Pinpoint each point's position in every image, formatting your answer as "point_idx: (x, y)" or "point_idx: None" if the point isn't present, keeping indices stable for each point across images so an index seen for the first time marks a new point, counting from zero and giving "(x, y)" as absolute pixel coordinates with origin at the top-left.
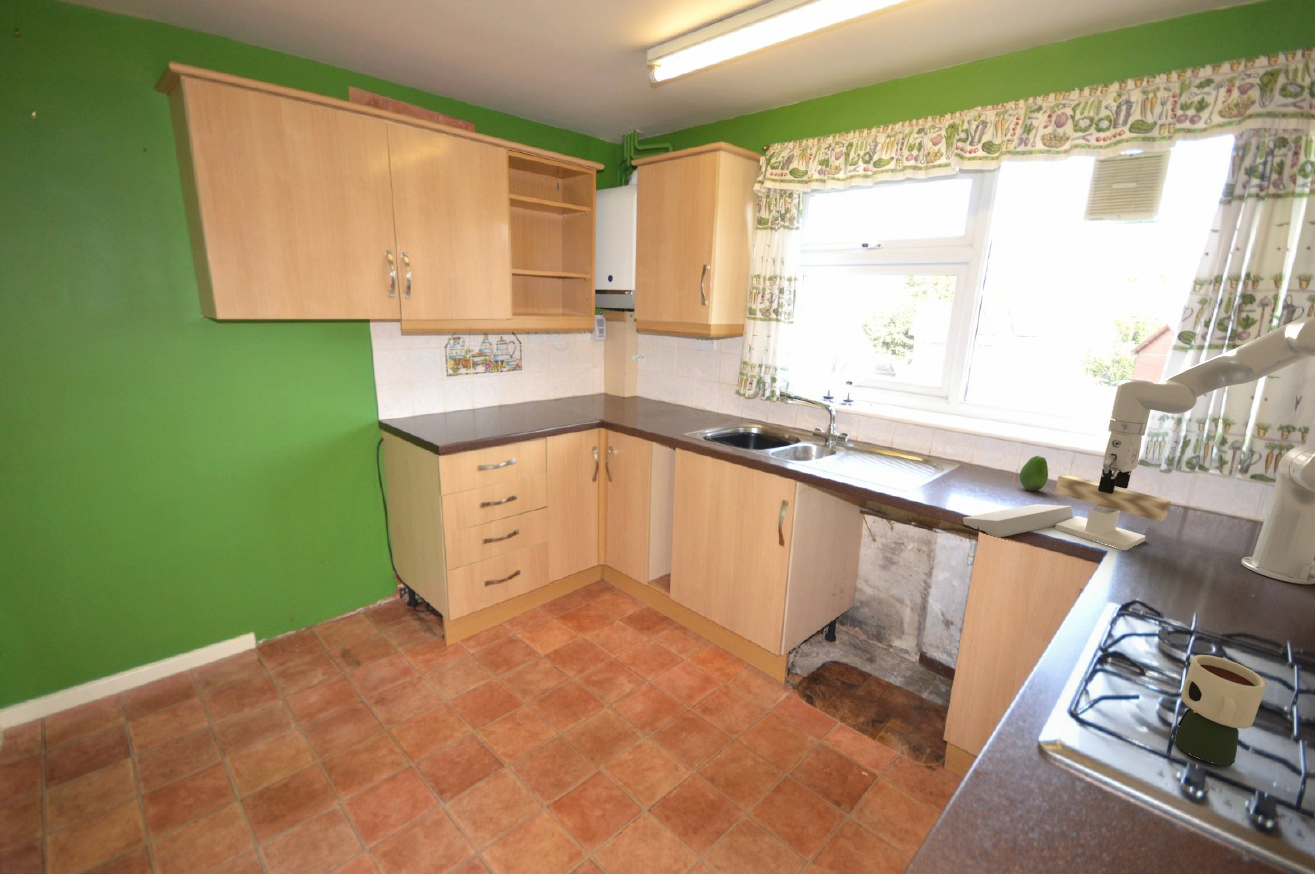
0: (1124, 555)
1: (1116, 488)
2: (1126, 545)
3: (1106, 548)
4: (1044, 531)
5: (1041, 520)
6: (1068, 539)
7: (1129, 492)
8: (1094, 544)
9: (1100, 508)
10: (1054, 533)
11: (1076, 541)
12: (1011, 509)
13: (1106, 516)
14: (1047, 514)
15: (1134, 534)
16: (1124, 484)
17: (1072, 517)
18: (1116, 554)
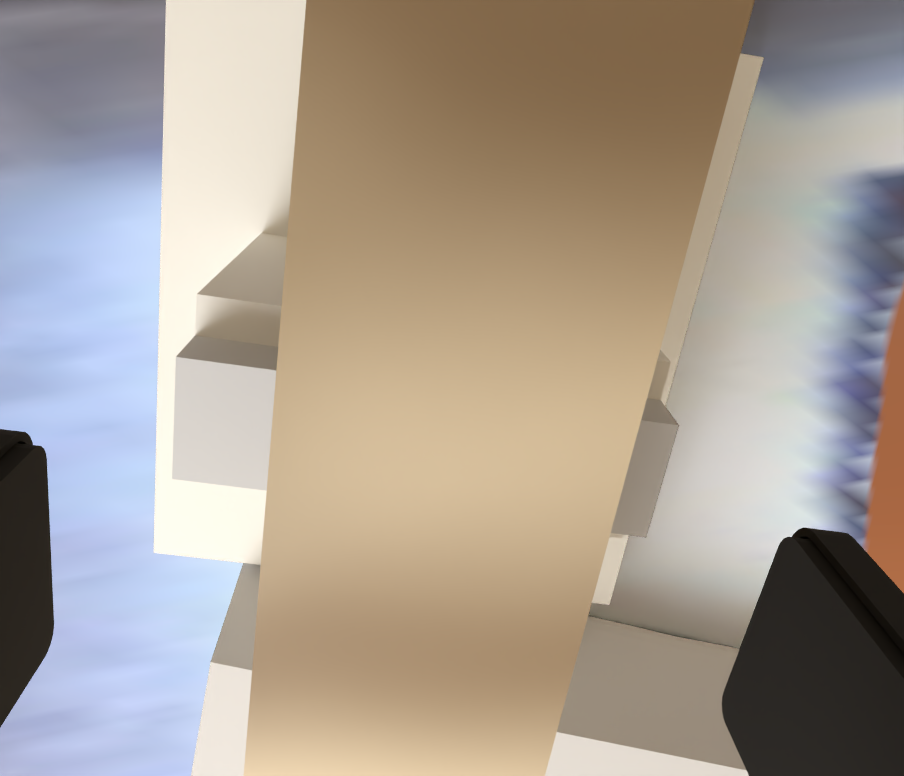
0: (871, 36)
1: (408, 557)
2: (743, 54)
3: (787, 194)
4: (737, 607)
5: (702, 694)
6: (794, 453)
7: (533, 314)
8: (755, 288)
9: (661, 469)
10: (724, 552)
11: (796, 402)
12: None
13: (662, 357)
14: (622, 714)
15: (247, 56)
16: (1, 520)
17: (248, 568)
18: (898, 97)
